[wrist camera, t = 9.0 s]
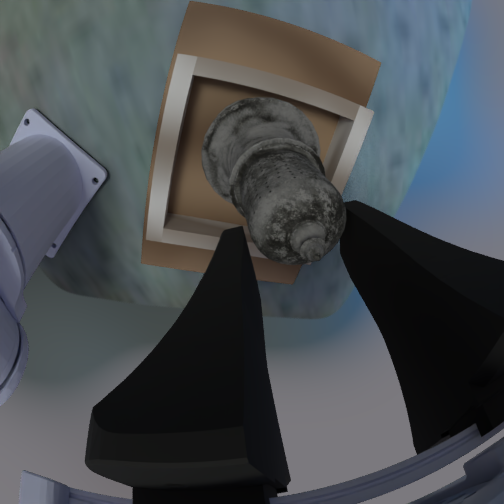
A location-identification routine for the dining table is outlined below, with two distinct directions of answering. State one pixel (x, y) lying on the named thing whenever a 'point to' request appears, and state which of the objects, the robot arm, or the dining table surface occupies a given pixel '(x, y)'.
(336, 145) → the board
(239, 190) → the salt shaker
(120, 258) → the dining table surface
